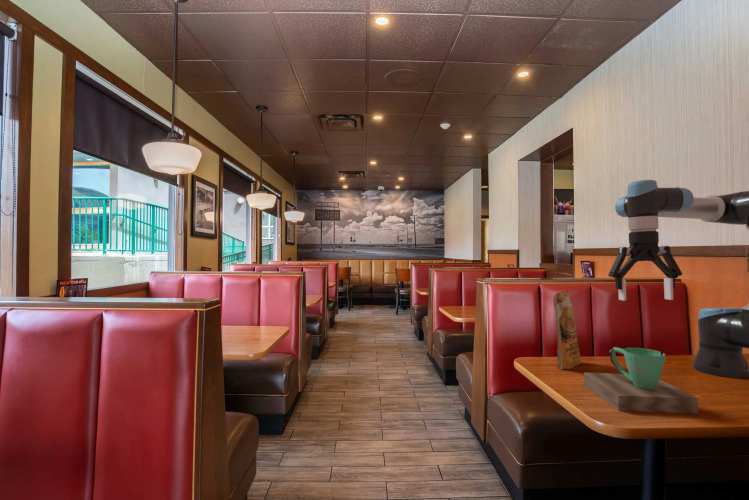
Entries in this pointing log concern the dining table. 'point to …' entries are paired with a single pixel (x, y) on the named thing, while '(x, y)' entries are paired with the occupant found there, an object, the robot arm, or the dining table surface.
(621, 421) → the dining table surface
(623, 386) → the plinth
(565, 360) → the pancake mix bag
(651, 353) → the mug
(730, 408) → the dining table surface
